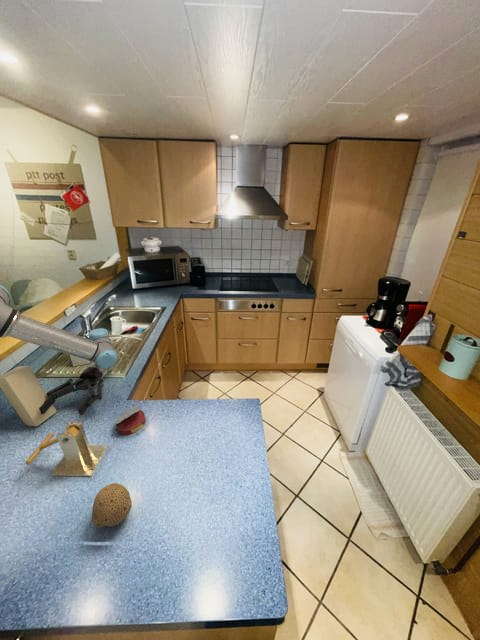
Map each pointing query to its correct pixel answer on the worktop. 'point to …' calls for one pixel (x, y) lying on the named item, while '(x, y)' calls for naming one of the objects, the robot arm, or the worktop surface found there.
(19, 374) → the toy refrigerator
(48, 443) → the lever
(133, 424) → the canned food
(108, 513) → the natural sponge
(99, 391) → the robot arm
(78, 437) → the bracket
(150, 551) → the worktop surface
